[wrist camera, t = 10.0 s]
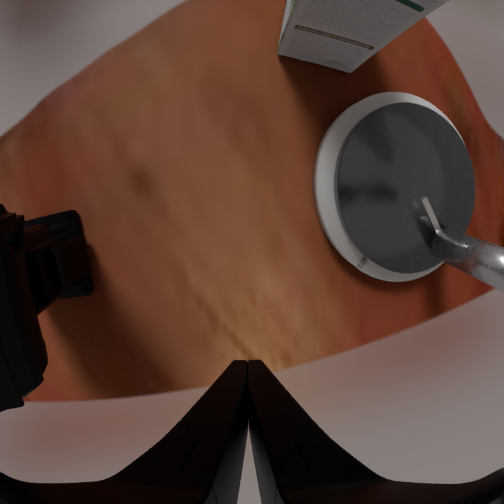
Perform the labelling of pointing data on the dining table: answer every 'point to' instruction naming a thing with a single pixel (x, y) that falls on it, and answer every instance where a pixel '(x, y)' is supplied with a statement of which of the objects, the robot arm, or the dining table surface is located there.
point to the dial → (411, 194)
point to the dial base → (325, 182)
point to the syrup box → (346, 28)
